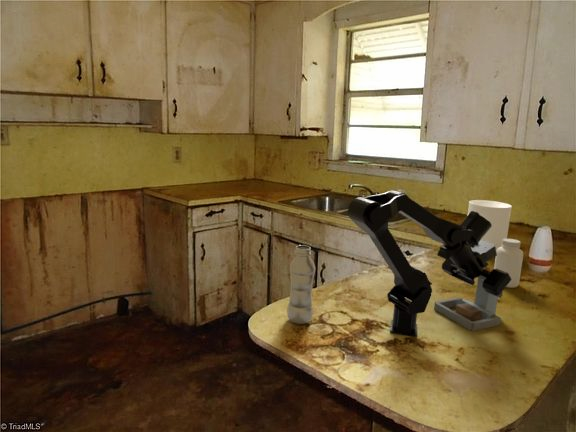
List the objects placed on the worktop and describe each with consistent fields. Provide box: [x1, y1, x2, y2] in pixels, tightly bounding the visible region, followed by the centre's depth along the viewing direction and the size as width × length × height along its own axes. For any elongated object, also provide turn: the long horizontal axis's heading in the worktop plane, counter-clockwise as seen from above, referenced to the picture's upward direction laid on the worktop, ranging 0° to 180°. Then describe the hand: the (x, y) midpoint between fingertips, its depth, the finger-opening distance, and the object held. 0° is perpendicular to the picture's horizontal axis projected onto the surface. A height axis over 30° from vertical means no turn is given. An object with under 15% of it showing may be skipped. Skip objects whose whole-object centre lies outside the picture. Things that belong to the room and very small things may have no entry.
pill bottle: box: [493, 238, 524, 289], centre depth 140 cm, size 8×8×15 cm
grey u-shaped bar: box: [433, 297, 501, 332], centre depth 116 cm, size 10×14×2 cm
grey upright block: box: [461, 277, 499, 320], centre depth 117 cm, size 6×9×11 cm
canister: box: [466, 199, 513, 251], centre depth 176 cm, size 16×16×20 cm
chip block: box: [454, 303, 482, 322], centre depth 116 cm, size 4×5×3 cm
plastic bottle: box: [286, 244, 316, 325], centre depth 108 cm, size 6×7×20 cm
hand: (486, 290), depth 117 cm, fingers open, 9 cm apart
